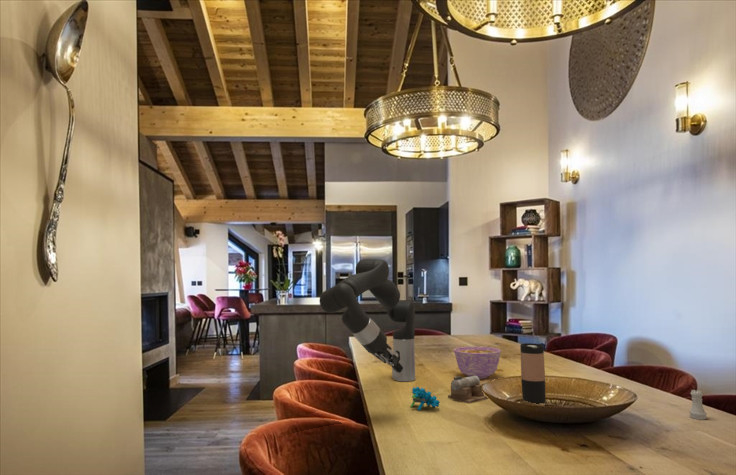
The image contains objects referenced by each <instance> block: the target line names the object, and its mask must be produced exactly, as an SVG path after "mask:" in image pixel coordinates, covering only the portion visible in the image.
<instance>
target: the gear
mask: <svg viewBox="0 0 736 475" xmlns="http://www.w3.org/2000/svg"><path fill="white" fill-rule="evenodd" d="M411 393H412V395H411V398H412V403H411V405H410V406H409V407H410V408H414V406H415V404H416V403H418V404H419V406H418V407H417V410H418V411H421V409H422V408H423V406H424V404H426V406H428V407H430V406H431V407H432V408H438V407H439V405H440V403H441V401H439V400H438V398H437V396H435V395H432V392H431V391H428V390H427V391H426V389H425V388H424V387H422V388H420V387H419V386H416V387H413V388H412V389H411Z"/></svg>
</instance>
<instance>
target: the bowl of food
mask: <svg viewBox="0 0 736 475" xmlns="http://www.w3.org/2000/svg"><path fill="white" fill-rule="evenodd" d="M501 351H502V350H501V349H499V348H496V347H490V346H459V347H455V348H453V352H454V357H455V360H456V364H457V368H458V369H459V371H460V372H461V373H462V374H463V375H465V376H467V377H471V376H477V377H478V378H479V380H482V379H483V380H485V379H487V378H488V377H489V376H492V375H494V374H495V373H496V372H497V370H498V367H499V362H500V359H501V358H500V357H501Z"/></svg>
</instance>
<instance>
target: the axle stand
mask: <svg viewBox="0 0 736 475" xmlns="http://www.w3.org/2000/svg"><path fill="white" fill-rule="evenodd" d="M480 383H481V379H479V378H478V377H477V376H471V377H468V376H467V377H462V376H460V375H458V376H454V377H453V379H452V380H451V383H450V394H449V395H447V398H448V399H452V400H455V401H459V402H462V403H466V404H472V403H476V402H481V401H485V400H488V399H489V397H488V398H487V397H486V396H487V395H485V392H484V393H483V392H482V390H481V385H482V384H480Z"/></svg>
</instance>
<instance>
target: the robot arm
mask: <svg viewBox="0 0 736 475" xmlns="http://www.w3.org/2000/svg"><path fill="white" fill-rule="evenodd" d="M389 276H390V266H389V263H388V262H387V261H386V260H384V259H379V258H377V259H376V258H362V259H360V260H358V261H357V264H356V266H355V273H354V274H351V275H349V276H347V277H346V278H344V279H342V280H341V281H340V282H338V283H337V284H336V285H334V286H332V287H329V288H327V289H326V290H323V292H322V293H321V294H320V297H319V305H320V307H321V309H322V310H323V311H324V312H326V313H328V314H333V313H336V312H338V311H341V310H343V309H345V308H346V310H345V311H344V312H343V314H342V315H341V320H342V321H341V322H342V323H343V324H344V326H346V328H347V329H348V330H349V331H350V332H351V333H352V335H353V336H354V338H355V339H356V341H358V342H359V344H360V345H361V346H362V347H363V348H364V349H365V350H366V351H367V352H368V354H371V355H373V356H374V357H375V358H377V359H378V360H379V361H381V362H383V363H384V364H387V365H388V366H390V367H392V368H391V370H392V372H391V374H392V379H393V380H394V381H398V382H412V381H415V380H416V356H415V355H416V353H415V352H416V350H415V349H416V344H415V342H416V341H415V328H416V327H415V322H416V309H415V308H416V307H415V303H414V302H413V301H412V300H401V293H400V290H399V288H398V287H397V285H396V284H395V282H393V281H392V280H390V279H389ZM367 291H368V292H370V293H371V294H372V295H373V297H374V298H375V299H376V301H377V302H378V303H379V304H380V305H381V306H382V308H384V310H385V311H386V314H387V315H388V318H389V319H390V320H391V322H394V323H405V326H403V327H402V328H400V329H397V330H394V331H393V332H392V347H391V346H390V345H389V344H388V343H387V342H388V341H387V340H388V337H387V335H386V334H385V332H383V330H382V329H381V328H380V327H379V326H378V324H377V323H376V322H375V321H374V320H373V319H372V318H371V317H370V316H369V315H368V314H367V313H366V312H365V310H363V308H362V307H361V305H360V302H359V300H358V297H360V296H361V295H362V294H364V293H365V292H367Z"/></svg>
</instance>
